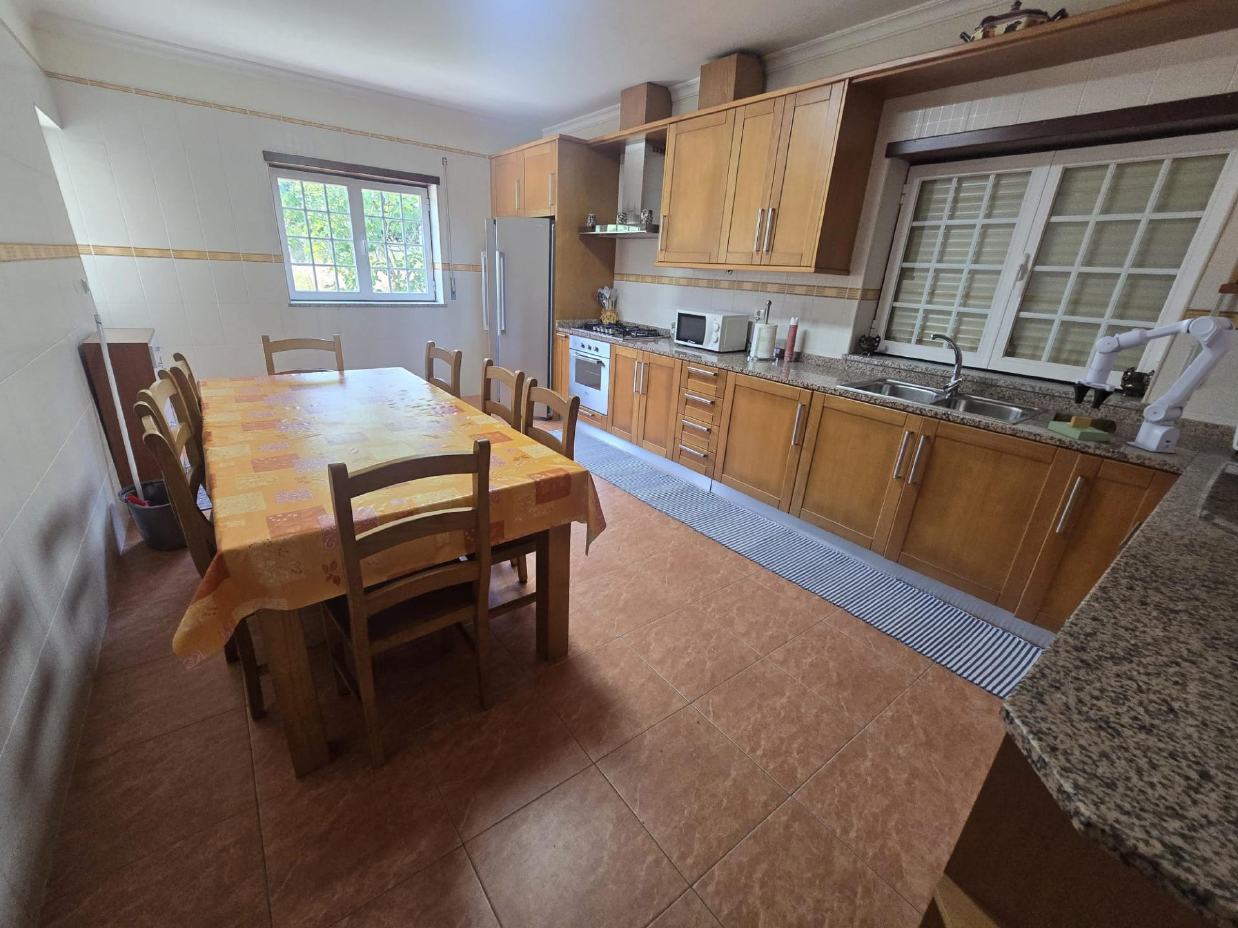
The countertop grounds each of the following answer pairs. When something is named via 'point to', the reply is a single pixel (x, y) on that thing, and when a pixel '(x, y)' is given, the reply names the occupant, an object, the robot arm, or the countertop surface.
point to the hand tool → (1095, 423)
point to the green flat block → (1078, 431)
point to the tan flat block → (1080, 422)
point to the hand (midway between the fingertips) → (1086, 406)
